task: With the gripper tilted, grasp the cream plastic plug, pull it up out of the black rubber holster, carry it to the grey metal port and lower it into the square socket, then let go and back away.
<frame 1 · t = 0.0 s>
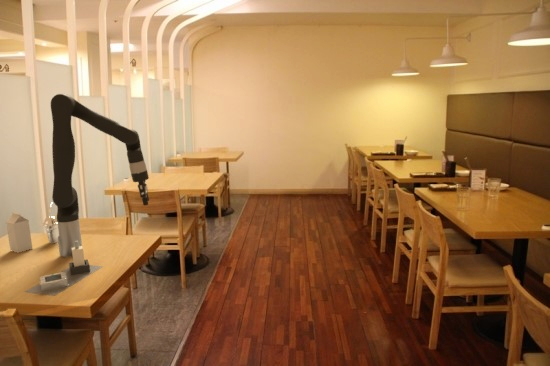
hand: (146, 203, 207), 22 cm above the table, tool pointing down, fingers open, 8 cm apart
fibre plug: (78, 256, 178), in the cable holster, point 8 cm above the table, touching port board
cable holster: (79, 267, 179), on the port board, point 3 cm above the table
drinking straw: (54, 241, 222), on the table
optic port: (54, 285, 166), resting on port board
milk carton: (21, 250, 211), on the table
port board: (66, 281, 172), on the table
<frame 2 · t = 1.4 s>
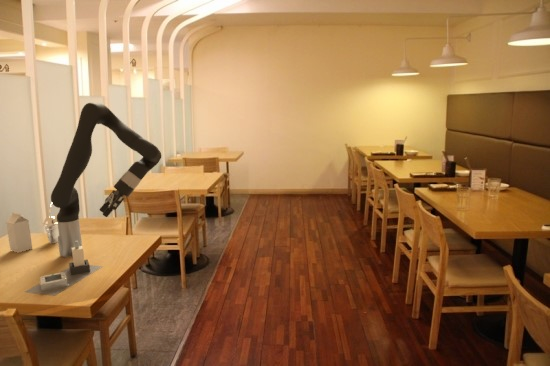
hand: (102, 213, 180), 25 cm above the table, tool tilted 45°, fingers open, 8 cm apart
nothing on the table moved.
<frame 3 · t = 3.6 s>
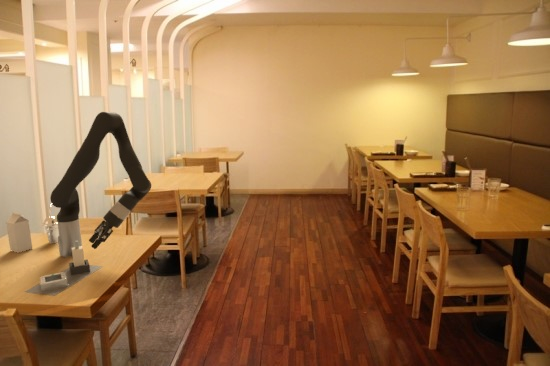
hand: (91, 244, 180), 12 cm above the table, tool tilted 45°, fingers open, 8 cm apart
nothing on the table moved.
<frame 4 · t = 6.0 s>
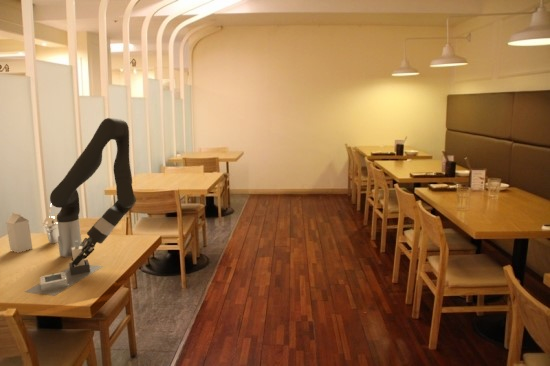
hand: (73, 262, 178), 6 cm above the table, tool tilted 45°, fingers closed on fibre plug, 4 cm apart
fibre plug: (78, 256, 178), in the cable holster, point 8 cm above the table, touching gripper, port board
everything else where it was.
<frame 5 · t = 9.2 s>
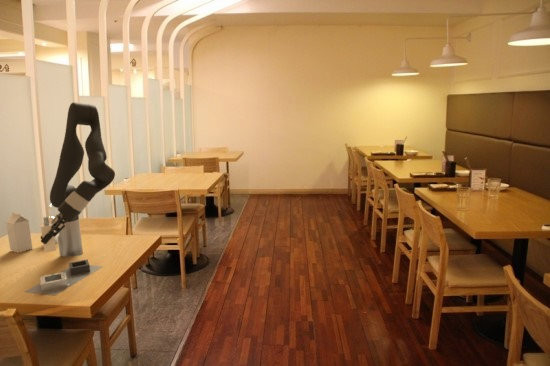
hand: (42, 240, 161), 20 cm above the table, tool tilted 45°, fingers closed on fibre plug, 4 cm apart
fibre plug: (47, 233, 162), point 22 cm above the table, touching gripper
everything else where it was.
when the fingers open (6 cm above the table, at t = 12.7 s): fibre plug stays where it is, resting on port board.
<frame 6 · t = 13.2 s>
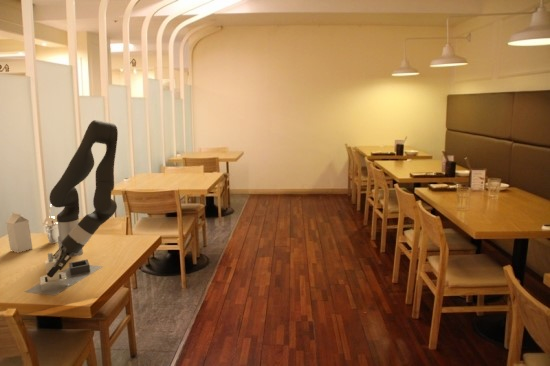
hand: (48, 272, 164), 7 cm above the table, tool tilted 45°, fingers open, 8 cm apart
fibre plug: (52, 269, 164), in the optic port, point 8 cm above the table, touching port board
everything else where it was.
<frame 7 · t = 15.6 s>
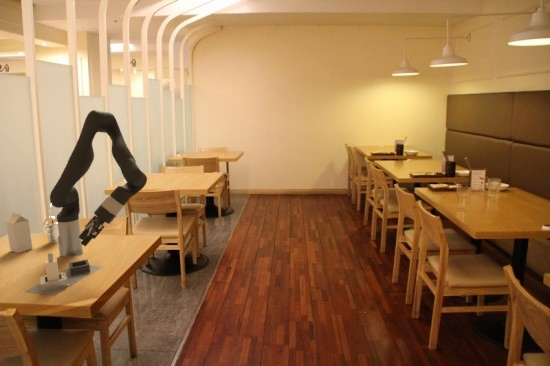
hand: (81, 241, 168), 17 cm above the table, tool tilted 45°, fingers open, 8 cm apart
nothing on the table moved.
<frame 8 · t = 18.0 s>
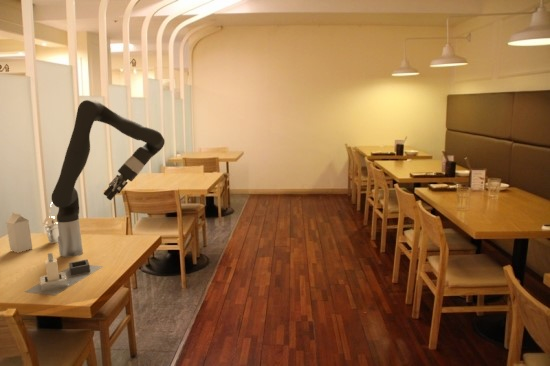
hand: (106, 197, 184), 31 cm above the table, tool tilted 45°, fingers open, 8 cm apart
nothing on the table moved.
at the end: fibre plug 0.0 cm from the target spot, point 8.0 cm above the table; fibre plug tilted 0°; the gripper is holding nothing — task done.
